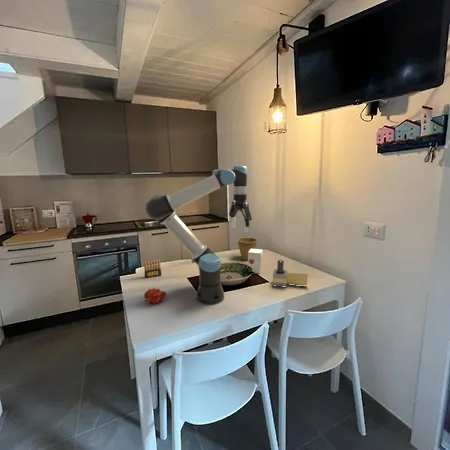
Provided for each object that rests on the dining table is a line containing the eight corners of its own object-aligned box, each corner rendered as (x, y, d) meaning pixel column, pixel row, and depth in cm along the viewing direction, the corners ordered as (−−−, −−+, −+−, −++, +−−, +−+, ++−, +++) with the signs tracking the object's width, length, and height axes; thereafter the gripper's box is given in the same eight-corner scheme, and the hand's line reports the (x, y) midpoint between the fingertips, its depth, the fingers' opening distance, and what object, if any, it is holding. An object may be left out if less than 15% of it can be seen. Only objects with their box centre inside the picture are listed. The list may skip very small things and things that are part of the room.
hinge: (306, 289, 157) (307, 276, 156) (272, 286, 162) (273, 273, 161) (305, 276, 176) (306, 265, 175) (275, 274, 181) (275, 262, 180)
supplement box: (247, 272, 184) (247, 251, 181) (250, 268, 192) (250, 248, 189) (260, 274, 181) (260, 253, 178) (262, 269, 190) (263, 249, 187)
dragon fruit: (142, 306, 141) (165, 305, 146) (144, 303, 134) (168, 302, 139) (142, 290, 145) (165, 289, 149) (144, 286, 138) (167, 286, 142)
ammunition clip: (160, 274, 180) (160, 257, 178) (161, 275, 178) (160, 258, 176) (144, 277, 176) (143, 260, 173) (145, 278, 174) (143, 261, 172)
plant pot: (247, 255, 222) (247, 236, 219) (260, 259, 211) (260, 239, 208) (233, 258, 213) (233, 239, 210) (246, 263, 202) (247, 243, 198)
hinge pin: (282, 285, 163) (283, 262, 160) (276, 285, 164) (277, 261, 161) (282, 283, 166) (283, 260, 163) (276, 282, 167) (277, 259, 164)
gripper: (258, 195, 144) (257, 233, 148) (233, 191, 165) (233, 225, 169) (247, 195, 140) (246, 235, 144) (223, 192, 161) (223, 226, 165)
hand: (239, 230), depth 157 cm, fingers open, 13 cm apart
